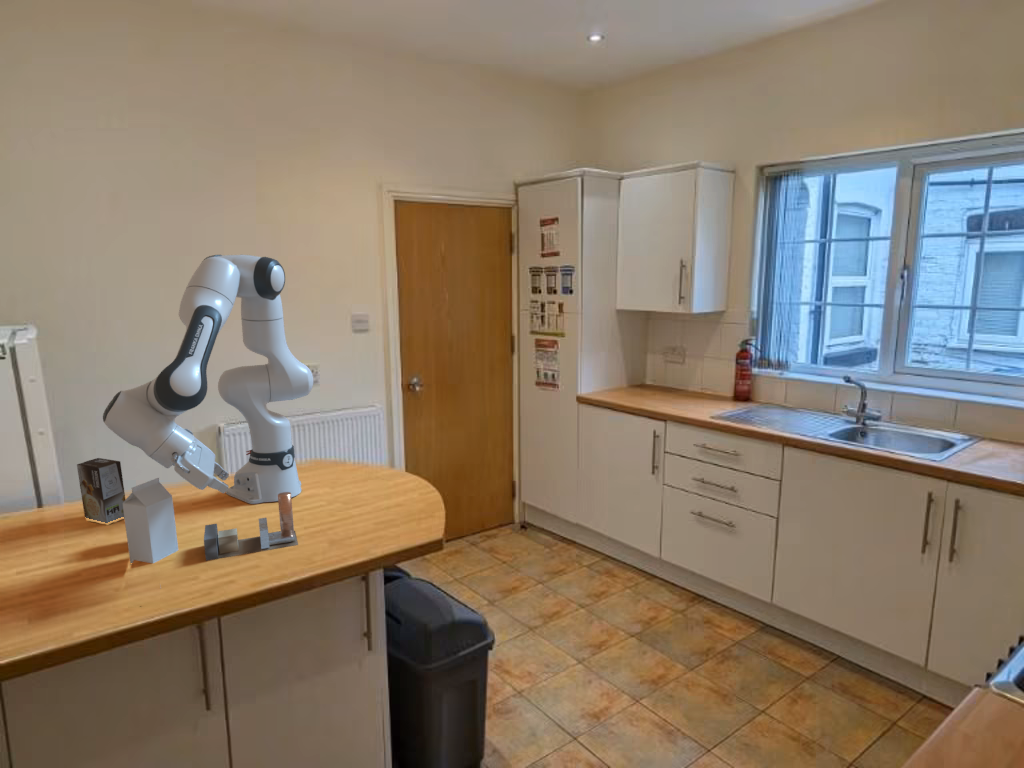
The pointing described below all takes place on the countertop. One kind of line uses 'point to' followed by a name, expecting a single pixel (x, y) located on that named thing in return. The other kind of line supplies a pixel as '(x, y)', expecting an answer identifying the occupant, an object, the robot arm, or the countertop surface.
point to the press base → (243, 544)
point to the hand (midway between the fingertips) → (226, 483)
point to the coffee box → (102, 489)
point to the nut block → (228, 541)
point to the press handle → (285, 524)
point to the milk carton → (150, 522)
